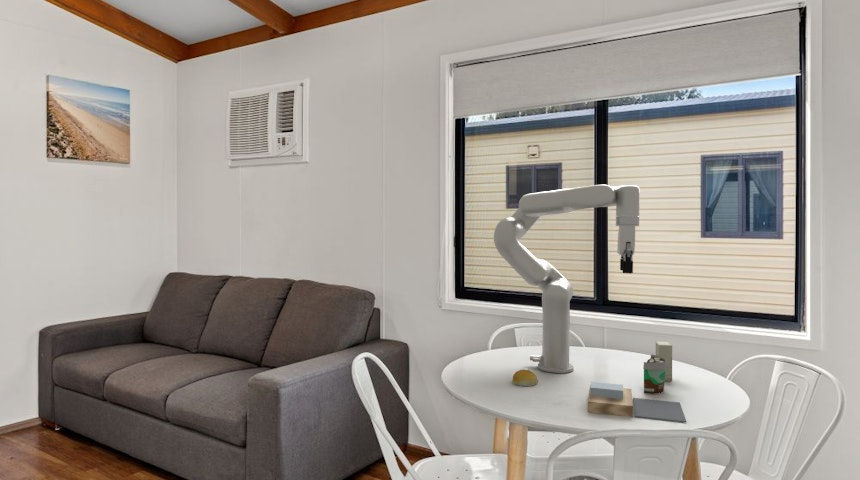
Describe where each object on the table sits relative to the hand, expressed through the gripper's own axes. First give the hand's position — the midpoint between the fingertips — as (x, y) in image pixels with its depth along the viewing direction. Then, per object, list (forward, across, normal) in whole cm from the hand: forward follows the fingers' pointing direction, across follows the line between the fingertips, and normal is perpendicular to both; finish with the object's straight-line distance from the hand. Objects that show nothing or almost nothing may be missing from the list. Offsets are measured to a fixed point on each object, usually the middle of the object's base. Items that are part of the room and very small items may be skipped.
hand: (626, 271), depth 190 cm
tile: (+33, +32, -8) cm, 47 cm away
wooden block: (+36, +32, -7) cm, 49 cm away
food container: (+36, +14, +9) cm, 40 cm away
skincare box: (+36, 0, +13) cm, 38 cm away
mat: (+36, +33, +6) cm, 50 cm away
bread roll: (+37, +16, -33) cm, 52 cm away
